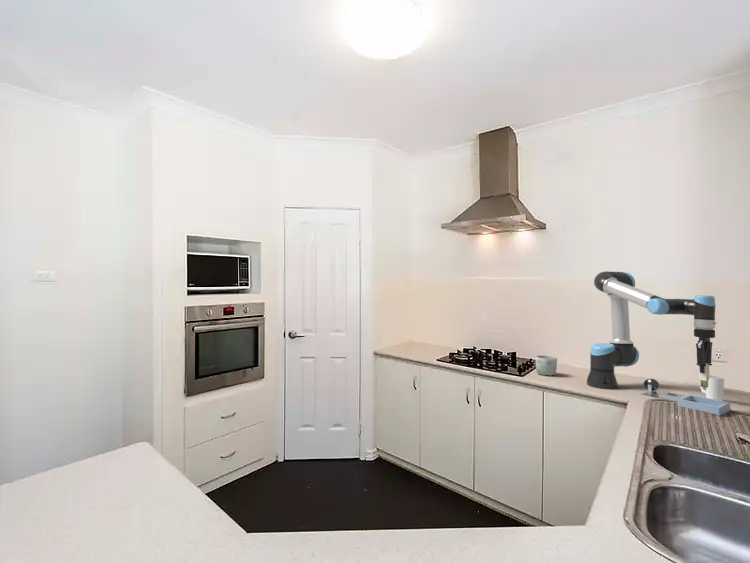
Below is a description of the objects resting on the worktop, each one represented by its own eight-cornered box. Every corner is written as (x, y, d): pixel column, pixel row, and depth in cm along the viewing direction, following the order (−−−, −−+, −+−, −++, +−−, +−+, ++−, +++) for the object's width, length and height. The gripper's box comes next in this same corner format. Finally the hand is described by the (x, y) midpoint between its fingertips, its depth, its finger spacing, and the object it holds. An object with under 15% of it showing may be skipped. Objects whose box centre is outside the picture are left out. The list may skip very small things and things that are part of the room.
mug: (727, 402, 191) (727, 378, 191) (718, 403, 189) (718, 378, 189) (703, 397, 200) (704, 373, 201) (695, 397, 198) (695, 374, 198)
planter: (554, 373, 250) (554, 356, 250) (558, 377, 238) (559, 359, 238) (533, 371, 253) (534, 354, 253) (537, 375, 241) (537, 358, 241)
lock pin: (699, 386, 181) (699, 362, 181) (701, 385, 182) (701, 362, 182) (706, 387, 178) (707, 363, 179) (709, 387, 180) (709, 363, 180)
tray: (677, 406, 182) (677, 398, 182) (689, 401, 191) (689, 394, 191) (719, 416, 170) (719, 407, 170) (730, 410, 178) (730, 402, 178)
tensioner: (640, 395, 201) (640, 378, 201) (648, 392, 206) (649, 376, 207) (680, 404, 187) (680, 386, 187) (688, 400, 192) (688, 383, 193)
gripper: (708, 330, 173) (708, 383, 173) (720, 328, 182) (720, 379, 182) (688, 328, 179) (687, 379, 179) (700, 327, 188) (700, 376, 188)
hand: (704, 379), depth 180 cm, fingers closed on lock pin, 3 cm apart
